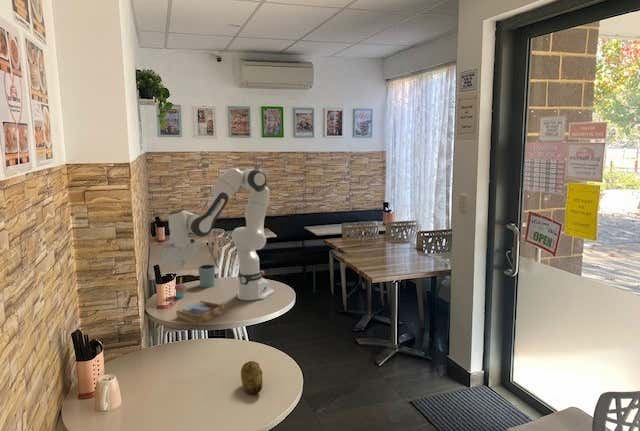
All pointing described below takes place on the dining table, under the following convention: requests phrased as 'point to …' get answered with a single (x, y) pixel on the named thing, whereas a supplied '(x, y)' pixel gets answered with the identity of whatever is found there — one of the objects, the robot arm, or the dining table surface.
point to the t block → (197, 309)
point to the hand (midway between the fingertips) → (181, 268)
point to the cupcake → (180, 289)
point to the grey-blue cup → (207, 275)
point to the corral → (214, 311)
